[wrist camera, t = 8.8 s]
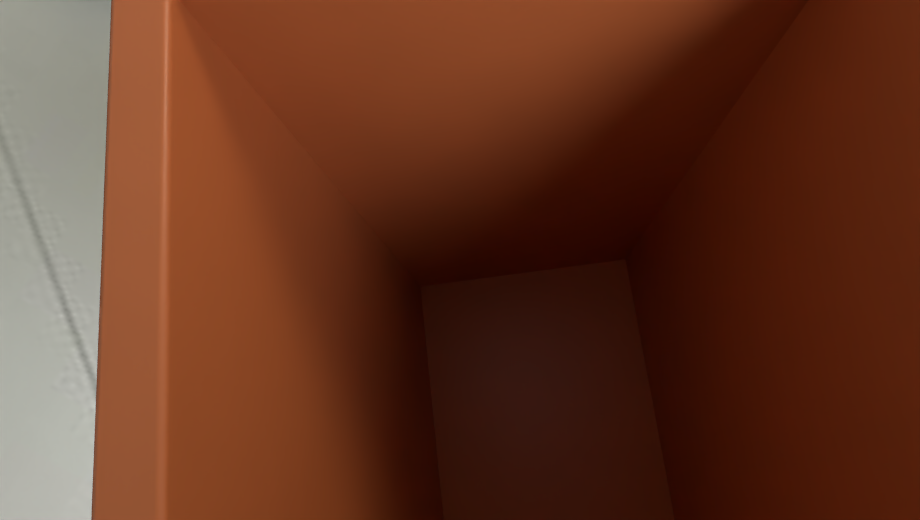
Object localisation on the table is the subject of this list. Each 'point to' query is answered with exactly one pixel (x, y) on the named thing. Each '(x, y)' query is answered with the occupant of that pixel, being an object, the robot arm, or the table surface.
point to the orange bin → (510, 261)
